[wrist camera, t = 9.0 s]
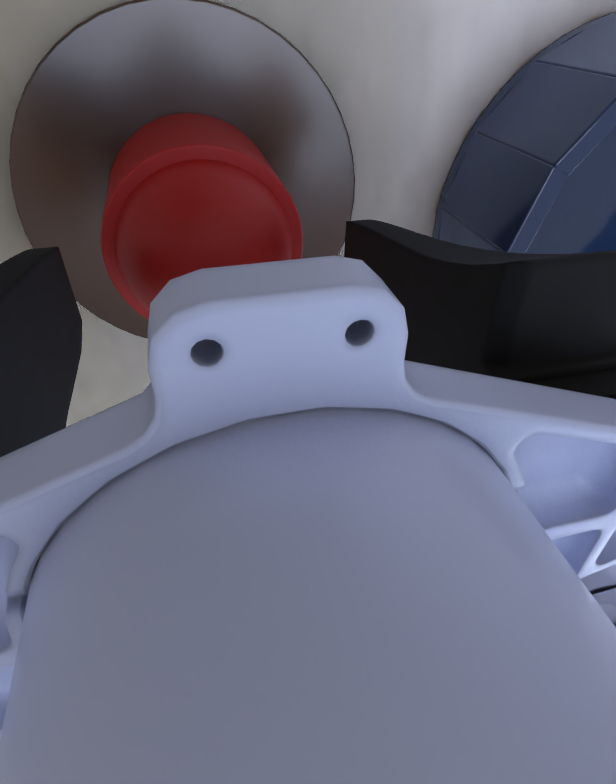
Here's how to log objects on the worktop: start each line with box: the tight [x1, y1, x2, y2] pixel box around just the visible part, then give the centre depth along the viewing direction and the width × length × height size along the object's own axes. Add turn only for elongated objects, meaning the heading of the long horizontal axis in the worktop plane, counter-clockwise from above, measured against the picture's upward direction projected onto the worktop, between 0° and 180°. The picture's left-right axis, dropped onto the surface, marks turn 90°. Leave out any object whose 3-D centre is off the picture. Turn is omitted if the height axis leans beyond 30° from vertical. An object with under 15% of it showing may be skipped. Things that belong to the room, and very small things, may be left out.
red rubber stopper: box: [101, 113, 303, 320], centre depth 14 cm, size 5×5×7 cm
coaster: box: [9, 0, 355, 339], centre depth 17 cm, size 11×11×1 cm
